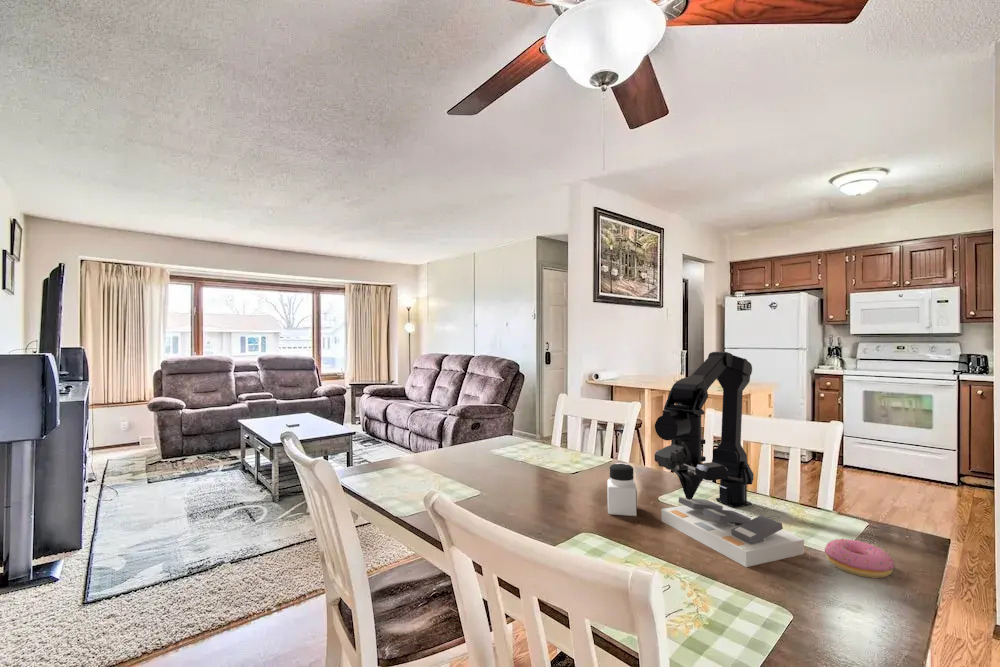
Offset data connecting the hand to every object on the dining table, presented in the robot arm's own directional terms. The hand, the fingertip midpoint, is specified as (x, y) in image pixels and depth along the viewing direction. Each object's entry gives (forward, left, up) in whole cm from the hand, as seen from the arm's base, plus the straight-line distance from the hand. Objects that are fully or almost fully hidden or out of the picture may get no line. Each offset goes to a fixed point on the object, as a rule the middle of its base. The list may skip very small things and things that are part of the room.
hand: (689, 499), depth 114 cm
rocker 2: (-3, +16, -2) cm, 16 cm away
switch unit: (-3, +8, -6) cm, 11 cm away
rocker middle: (-3, +8, -2) cm, 9 cm away
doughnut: (-16, +28, -7) cm, 33 cm away
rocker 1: (-3, 0, -2) cm, 4 cm away
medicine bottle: (+10, -14, -6) cm, 18 cm away
